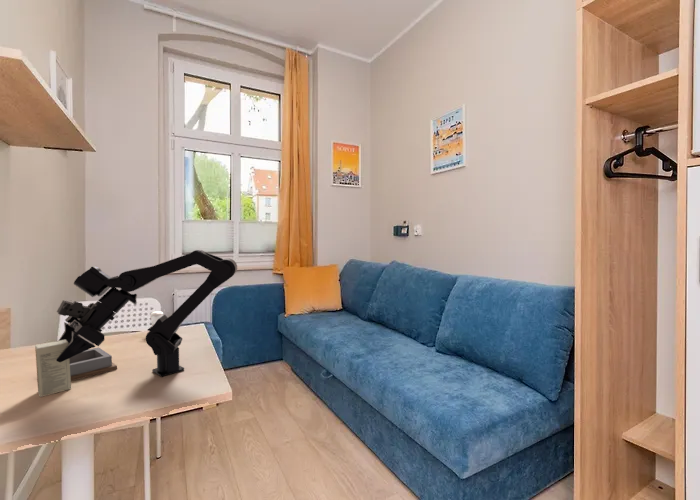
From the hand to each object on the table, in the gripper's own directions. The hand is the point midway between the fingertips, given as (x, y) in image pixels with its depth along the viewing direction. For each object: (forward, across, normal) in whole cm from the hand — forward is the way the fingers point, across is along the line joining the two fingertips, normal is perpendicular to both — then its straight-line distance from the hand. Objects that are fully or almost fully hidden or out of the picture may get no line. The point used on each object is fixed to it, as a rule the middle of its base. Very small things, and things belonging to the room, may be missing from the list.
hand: (55, 356), depth 87 cm
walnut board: (+1, -11, +11) cm, 16 cm away
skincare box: (+6, 0, +6) cm, 9 cm away
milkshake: (-18, -36, +31) cm, 51 cm away
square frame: (+1, -11, +10) cm, 15 cm away
